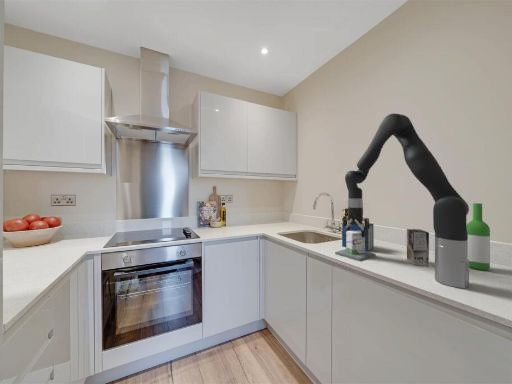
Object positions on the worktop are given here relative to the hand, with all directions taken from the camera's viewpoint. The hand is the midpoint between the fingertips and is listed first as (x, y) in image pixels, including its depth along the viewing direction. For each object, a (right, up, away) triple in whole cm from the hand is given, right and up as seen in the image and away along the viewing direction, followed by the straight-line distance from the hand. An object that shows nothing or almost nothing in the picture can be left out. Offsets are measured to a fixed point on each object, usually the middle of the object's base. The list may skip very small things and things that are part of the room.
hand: (355, 235), depth 114 cm
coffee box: (+25, -11, -12) cm, 30 cm away
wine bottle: (+47, -11, -19) cm, 52 cm away
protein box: (+9, -11, +16) cm, 21 cm away
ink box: (0, -10, 0) cm, 10 cm away
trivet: (0, -11, 0) cm, 11 cm away
